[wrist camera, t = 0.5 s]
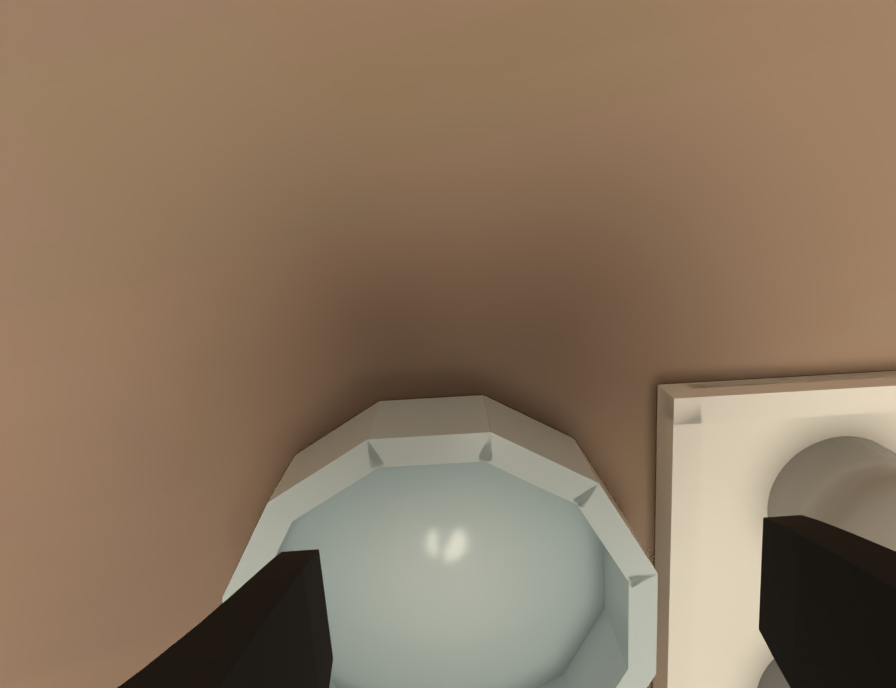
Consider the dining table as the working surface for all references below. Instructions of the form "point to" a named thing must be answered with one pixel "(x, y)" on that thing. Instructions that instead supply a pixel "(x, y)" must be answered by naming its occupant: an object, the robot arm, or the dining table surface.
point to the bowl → (464, 552)
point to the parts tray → (736, 506)
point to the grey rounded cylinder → (841, 487)
